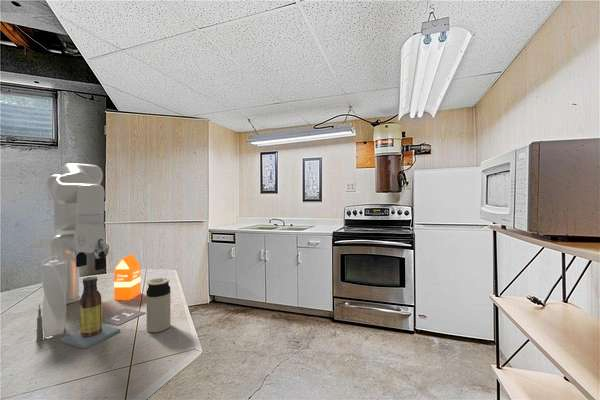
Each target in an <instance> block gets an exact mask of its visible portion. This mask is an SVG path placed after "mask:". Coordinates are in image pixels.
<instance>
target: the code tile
mask: <svg viewBox="0 0 600 400" xmlns="http://www.w3.org/2000/svg"><path fill="white" fill-rule="evenodd" d="M145 314H147V311H141V310H136V309H130V308H123V309H120V310H119V311H115V312H112V313H111V314H109V315H107V316H106V315H105V316H104V317H103V316H102V323H106V324H110V325H115V326H122V325H123V324H125V323H127V322H129V321H131V320H134V319H136V318H138V317H140V316H142V315H145Z"/></svg>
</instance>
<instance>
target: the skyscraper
mask: <svg viewBox="0 0 600 400" xmlns="http://www.w3.org/2000/svg"><path fill="white" fill-rule="evenodd" d="M52 257H56V258H55V260H54V261H52V260H50V261H48V263H44V262H45V261H47V260H48V259H52ZM56 259H57V255H53V256H52V255H50V256H47V257H46V258H44V259H43V260H42V261H41V263H40V276H41V283H42V288H43V299H42V308H41V304H40V303H39V304H38V309H37V317H36V331H35V332H36V340H35V342H36V343H37V342H38V341H39V342H43V341H46V339H47V338H45V337H49V336H53V338H52V339H54V337H56V338H60V337H64V332H65V330H66V320H67V319H66V318H67V304H66V298H65V292H64V284H65V279H66V273H67V264H68V261H67V260H65V261H61V262H59V260H56ZM43 333H44V335H43ZM43 336H44V337H43ZM59 336H60V337H59ZM43 338H44V339H43ZM42 340H43V341H42ZM47 340H48V339H47Z"/></svg>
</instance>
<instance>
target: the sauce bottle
mask: <svg viewBox="0 0 600 400" xmlns="http://www.w3.org/2000/svg"><path fill="white" fill-rule="evenodd" d="M97 282H98V277H97V276H88V277H84V278H83V279H82V284H83V285H82V286H83V289H82V290H83V292H82V293H81V294H82V297H81V300H79V329H80V330H79V331H81V335H82V336H84V337H88V336H94V335H96V334H98V333H100V332H101V331H102V325H104V323H103V322H102V318H103V304H102V303H103V301H102V294H101V293H100V291H99V290H98V284H97Z"/></svg>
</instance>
